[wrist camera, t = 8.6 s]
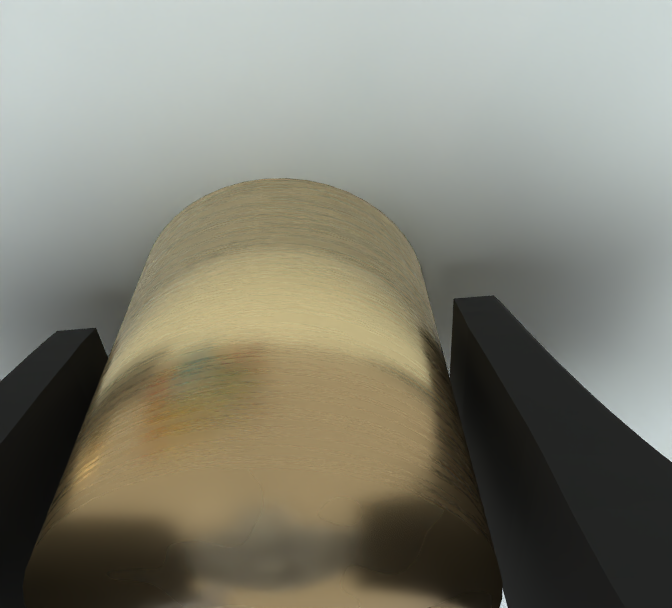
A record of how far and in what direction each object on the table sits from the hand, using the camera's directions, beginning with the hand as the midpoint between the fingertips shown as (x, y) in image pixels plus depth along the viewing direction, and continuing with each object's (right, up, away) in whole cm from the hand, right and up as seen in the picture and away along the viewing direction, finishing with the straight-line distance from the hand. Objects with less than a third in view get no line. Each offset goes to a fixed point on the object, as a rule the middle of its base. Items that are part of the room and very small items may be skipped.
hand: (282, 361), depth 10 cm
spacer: (0, +1, +1) cm, 2 cm away
